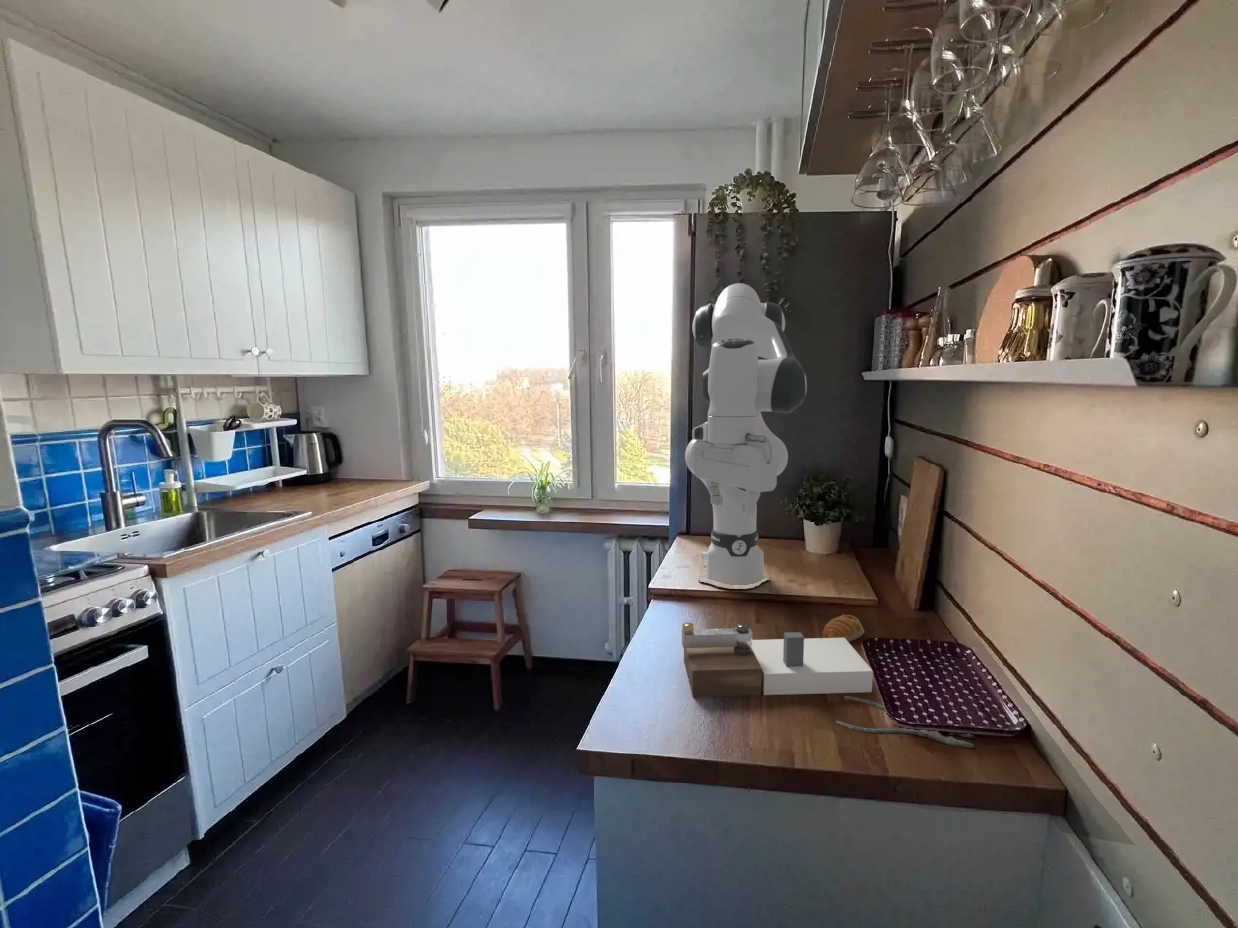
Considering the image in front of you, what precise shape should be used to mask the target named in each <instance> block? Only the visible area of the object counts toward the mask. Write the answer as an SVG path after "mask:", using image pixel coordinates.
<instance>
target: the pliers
mask: <svg viewBox="0 0 1238 928" xmlns="http://www.w3.org/2000/svg"><path fill="white" fill-rule="evenodd" d="M843 698H844V699H845V700H850V701H856V702H860V703H863V704H867V705H870V706H873V707H876V708H877V709H880V710H882V711H884V712H885V708H884V706H885V705H882V704H880V703H878V702H875V701H872V700H868V699H865V698H861V697H856V696H849V695H844V697H843ZM835 724H836V725H839V726H841V727H844V728H847V729H850V730H854V731H859V732H864V733H871V734H906V735H907V734H909V735H916V736H921V737H926V738H928V739H931V740H934V741H937V742H939V743H943V744H946V745H950V746H954V747H955V746H956V747H962V748H968V749H969V748H970V749H974V745H975V744H974V743H971V742H968V741H965V740H959V739H957V738H954V737H953V736H959V737H961V738H969V739H974V734H973V735H970V734H971V733H969V734H955V735H954V734H953V733H950V734H948V735H950V736H944V735H942V732H941V733H939V732H938V731H931V730H930V731H928V730H914V729H906V728H907V727H886V728H885V727H884V728H869V727H862V726H856V725H851V724H848V723H846V722H843V721H840V720H835Z"/></svg>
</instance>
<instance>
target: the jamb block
mask: <svg viewBox="0 0 1238 928" xmlns="http://www.w3.org/2000/svg"><path fill="white" fill-rule="evenodd" d="M683 663H684V666H685V667H684V668H685V672H686V674H687V679H689V680H688V683H689V687H690V691H691V695H692V697H693V698H704V697H705V698H707V697H709V698H710V697H711V698H713V697H741V696H742V697H744V696H748V697H749V696H762V690H761V675H762V668H761V666H760V664H759V662H758V660H757V658H756V656H755V654H754V652H753V650H752V648H751V647H749V648H738V647H715V648H683Z"/></svg>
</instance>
